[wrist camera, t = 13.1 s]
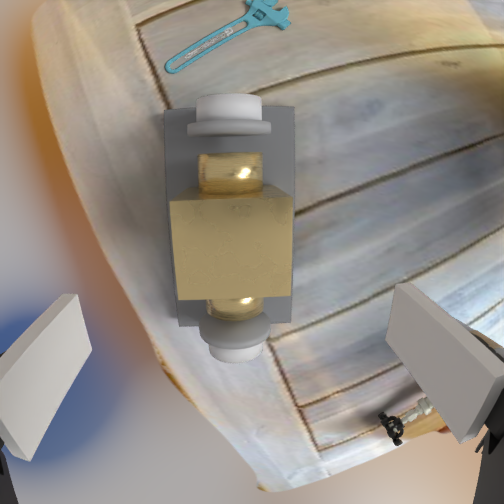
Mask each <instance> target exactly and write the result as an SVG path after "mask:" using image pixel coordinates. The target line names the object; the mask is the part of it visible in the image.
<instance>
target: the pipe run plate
mask: <svg viewBox="0 0 504 504" xmlns="http://www.w3.org/2000/svg"><path fill="white" fill-rule="evenodd" d="M164 143H165V174H166V194H167V211H168V225H169V238H170V250H171V261H172V271H173V280H174V289H175V298H176V306H177V314H178V322H179V326H199V330H200V336H201V338H202V339H203V340H204V341H205V342H206V343H208V344H209V351H210V354H211V355H212V356H213V357H214V358H216V359H217V360H219V361H222V362H226V363H244V362H248V361H251V360H253V359H255V358H256V357H258V356H259V355H260V354H261V352H262V349H263V341H265V340H266V339H267V338H268V336H269V334H270V330H271V324H275V323H291V308H292V284H293V254H294V206H295V122H294V107H288V106H262V100H261V97H259V96H256V95H251V94H241V93H224V94H213V95H207V96H203V97H200V98H198V99H197V100H196V108H182V109H170V110H164ZM230 152H262V155H263V185H275V186H276V187H278V188H279V189H281V190H282V191H284V192H285V193H287V194H289V195H290V196H292V197H293V224H292V271H291V296H280V297H264V308H263V311H262V312H261V313H260V314H259V315H258V316H256V317H254V318H251V319H248V320H243V321H223V320H219V319H216V318H214V317H212V316H210V315H209V314H208V312H207V310H206V300H178V292H177V283H176V274H175V264H174V254H173V242H172V230H171V217H170V202H169V201H171V200H172V199H173V198H175V197H176V196H177V195H179V194H180V193H181V192H183V191H184V190H185V189H187V188H192V187H198V159H197V154H208V153H230Z"/></svg>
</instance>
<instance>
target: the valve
mask: <svg viewBox="0 0 504 504" xmlns="http://www.w3.org/2000/svg"><path fill="white" fill-rule="evenodd" d="M417 402H418V405H417V406H416V408H415V409H414V410H412V409H411V410H410V411H409V412H407V413H406V414H405V415H406V416H405V417H403V418H402V419H400V418H399V417H398V418H396V417H395V416H390V417H387V415H386V414H385V413H384V412H382V413H381V414H379V415H378V416H379V418H380V420H381V423H382V425H383V426H384V427H385V428H386V430H387V434H388V436H389V437H390V438H392V439H393V443H394V444H395V446H399V445H401V444H402V443H403V442H402V441H401V440H400V439H399V437H401V436H402V435H403V433H404V430H403V428H404V427H405V426H404V424H405V423H406V422H408V421H410V422H411V421H413V420H414V419H415V418H417V415H419V414H420V415H421V414H422V413H425V415H427V414H429V413H430V412H431V409H432V408H434V406H433V404H432V403H431V401H430V400H429V399H428V397H427V396H426V397H425V398H421V399H419V400H418V401H417ZM391 420H394V421H392V422H390V423H389V421H391ZM399 430H400V433H399V434H398V433H397V432H398V431H399ZM395 432H396V433H395Z"/></svg>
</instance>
